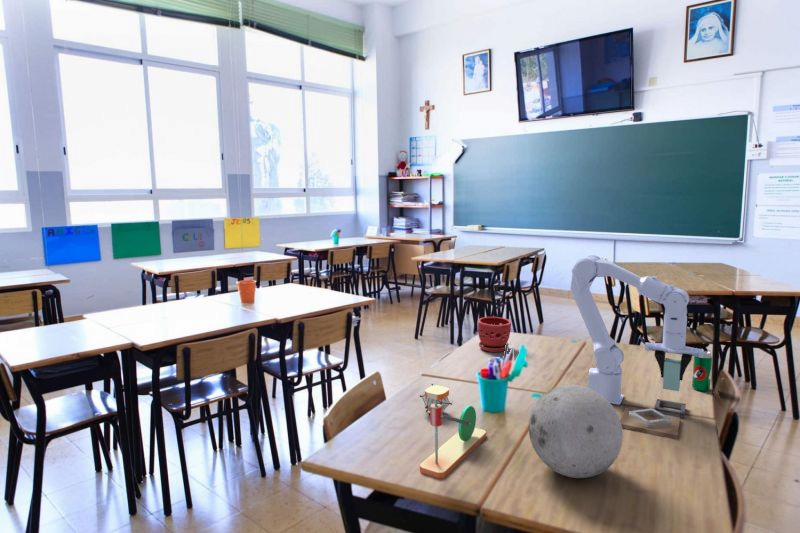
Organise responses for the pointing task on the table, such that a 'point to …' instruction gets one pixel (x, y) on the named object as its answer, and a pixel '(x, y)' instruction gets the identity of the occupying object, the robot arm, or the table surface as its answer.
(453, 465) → the crank mechanism
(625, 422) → the socket board
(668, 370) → the teal peg
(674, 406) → the stand socket
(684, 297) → the robot arm
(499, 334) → the plant pot
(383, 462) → the table surface
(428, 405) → the grey wire strut frame
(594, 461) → the moon model
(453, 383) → the table surface
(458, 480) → the table surface
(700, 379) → the soda can
